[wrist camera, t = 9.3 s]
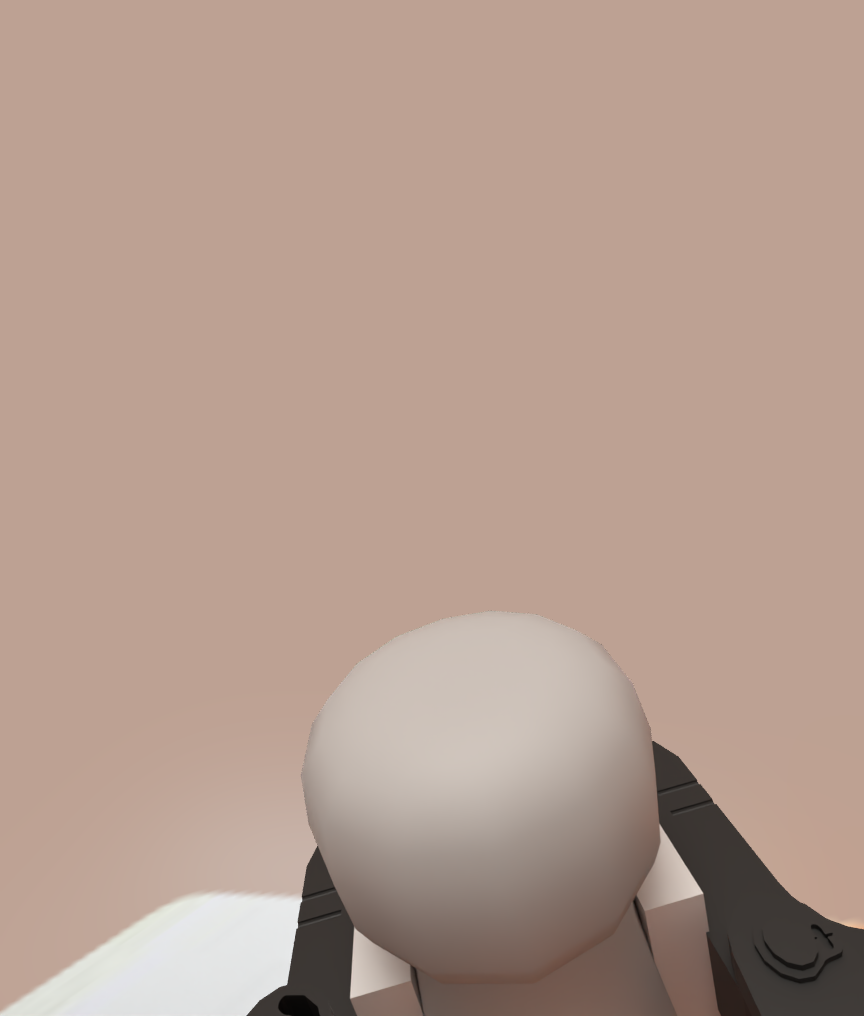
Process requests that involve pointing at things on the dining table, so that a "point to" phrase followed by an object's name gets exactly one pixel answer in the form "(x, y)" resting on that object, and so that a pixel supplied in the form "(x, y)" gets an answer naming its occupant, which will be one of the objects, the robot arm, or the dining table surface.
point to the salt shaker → (493, 817)
